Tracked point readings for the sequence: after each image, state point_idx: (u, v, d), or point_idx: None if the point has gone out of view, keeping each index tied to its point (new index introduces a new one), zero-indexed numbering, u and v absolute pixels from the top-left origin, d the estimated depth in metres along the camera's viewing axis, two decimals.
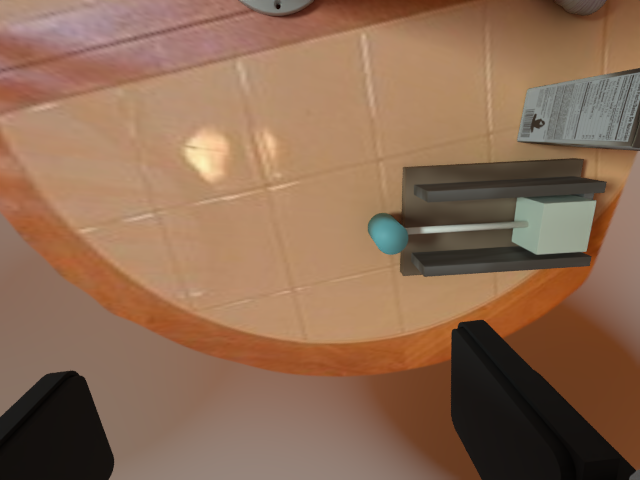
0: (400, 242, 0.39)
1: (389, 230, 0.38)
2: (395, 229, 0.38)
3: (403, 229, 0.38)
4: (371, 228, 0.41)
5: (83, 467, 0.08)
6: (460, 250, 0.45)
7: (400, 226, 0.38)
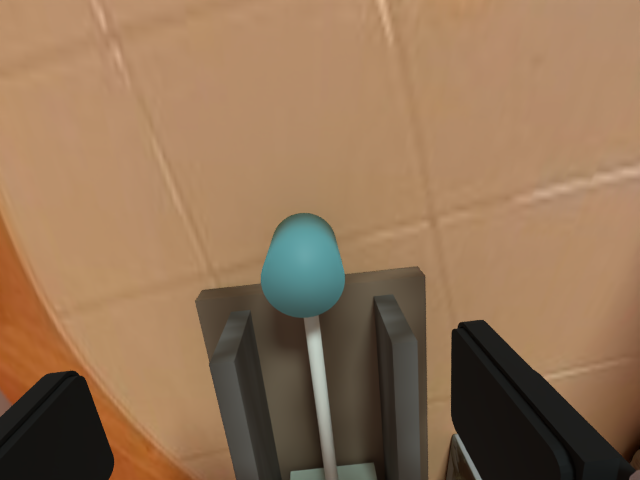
0: (295, 300, 0.15)
1: (326, 270, 0.15)
2: (329, 284, 0.15)
3: (330, 303, 0.15)
4: (309, 222, 0.17)
5: (83, 467, 0.08)
6: (265, 397, 0.23)
7: (337, 295, 0.15)
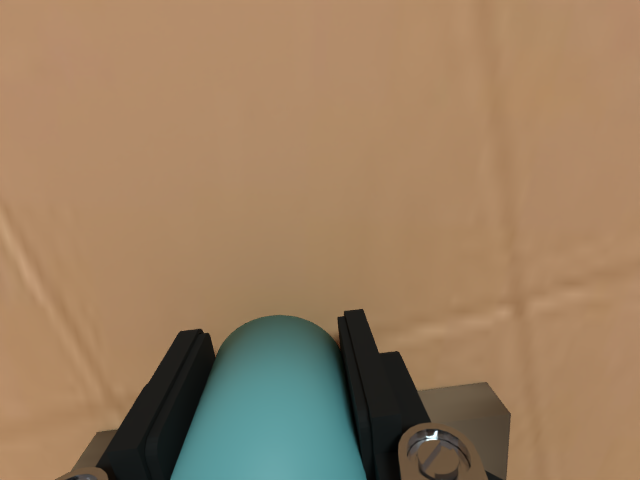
0: None
1: None
2: None
3: None
4: (286, 361, 0.07)
5: None
6: None
7: None
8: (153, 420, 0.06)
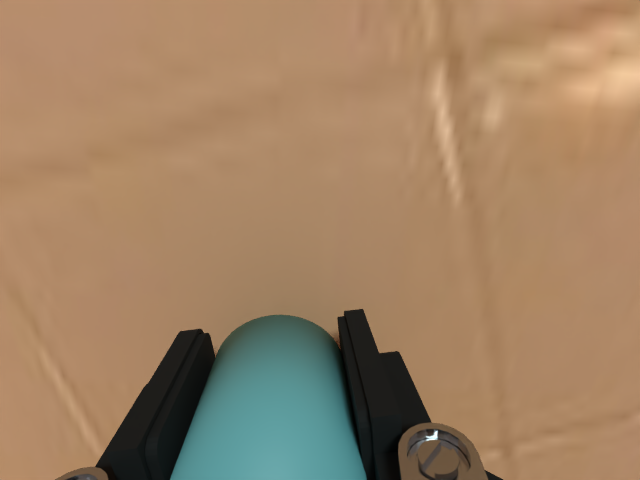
0: None
1: None
2: None
3: None
4: (287, 361, 0.07)
5: None
6: None
7: None
8: (153, 420, 0.06)
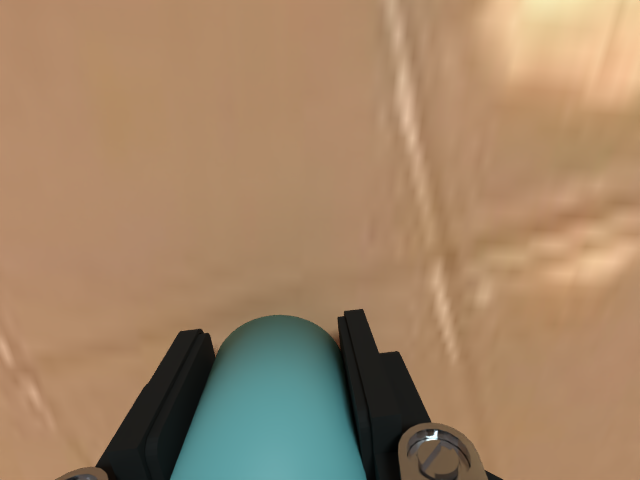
0: None
1: None
2: None
3: None
4: (286, 361, 0.07)
5: None
6: None
7: None
8: (153, 420, 0.06)
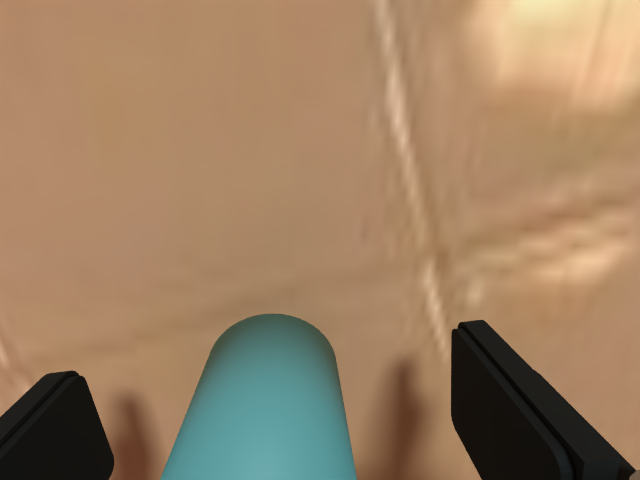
0: None
1: None
2: None
3: None
4: (278, 359, 0.07)
5: (83, 467, 0.08)
6: None
7: None
8: None
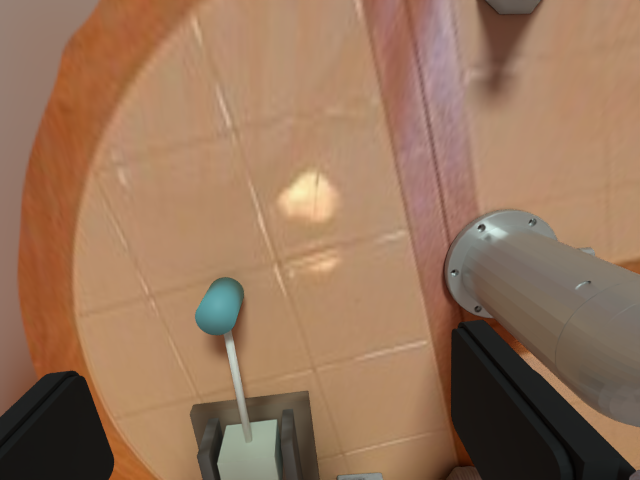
0: (212, 327, 0.32)
1: (226, 313, 0.31)
2: (228, 319, 0.32)
3: (229, 328, 0.32)
4: (224, 285, 0.34)
5: (83, 467, 0.08)
6: None
7: (232, 324, 0.32)
8: None
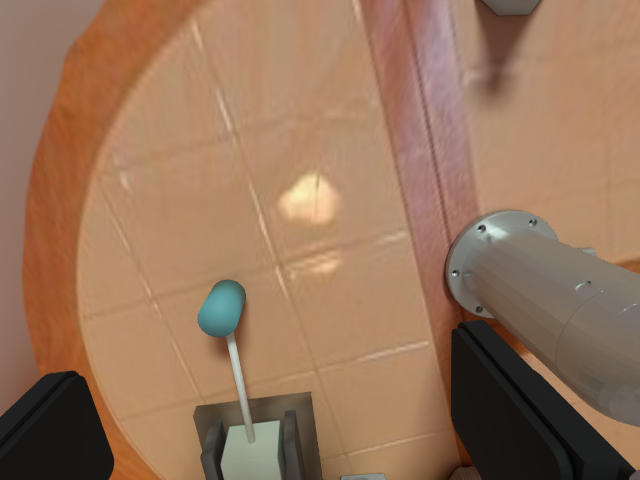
0: (214, 329, 0.32)
1: (228, 315, 0.32)
2: (230, 321, 0.32)
3: (231, 330, 0.32)
4: (226, 287, 0.34)
5: (83, 467, 0.08)
6: None
7: (234, 326, 0.32)
8: None
